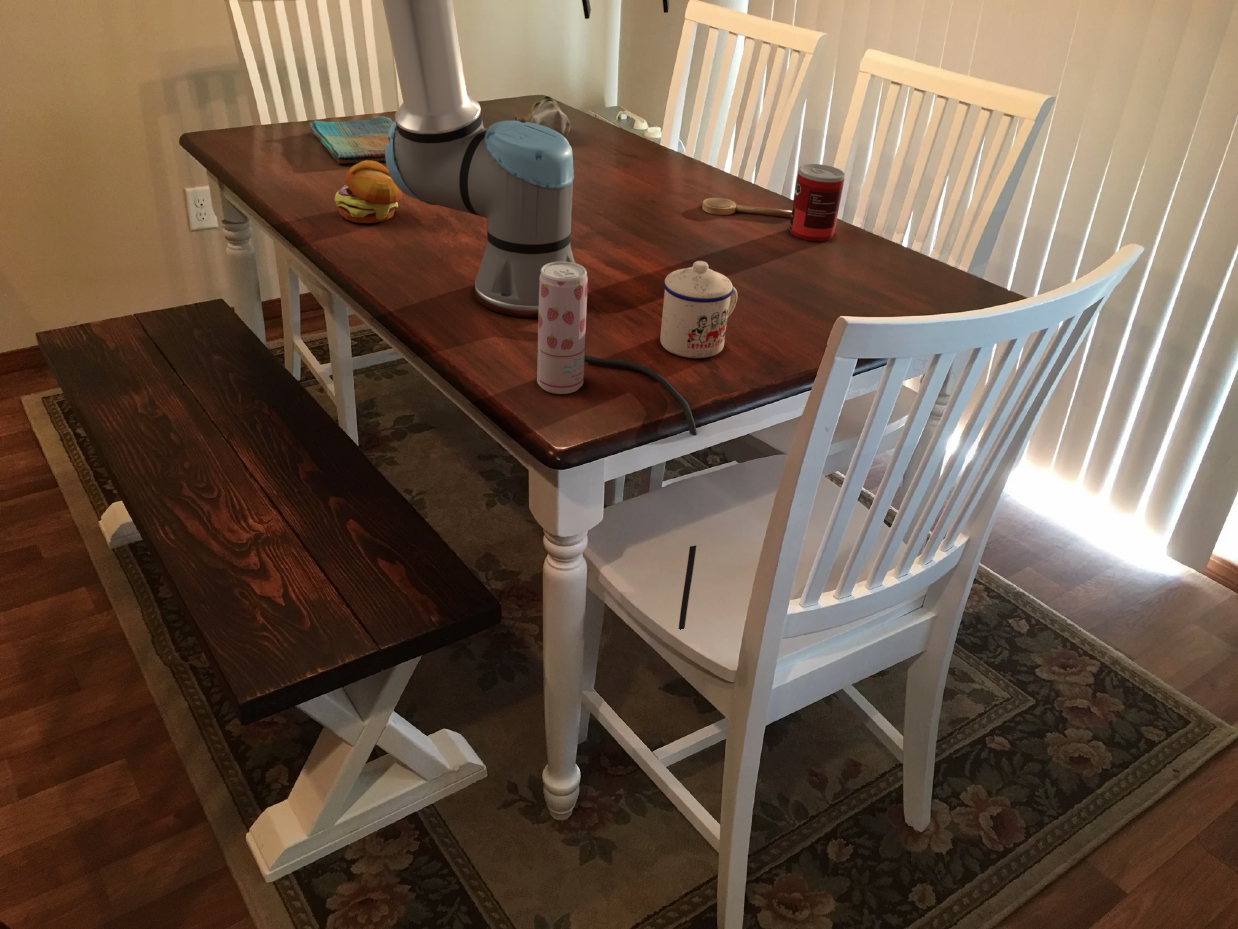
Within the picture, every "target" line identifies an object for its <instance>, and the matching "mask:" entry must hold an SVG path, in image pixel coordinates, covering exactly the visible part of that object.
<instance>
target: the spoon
mask: <svg viewBox="0 0 1238 929" xmlns="http://www.w3.org/2000/svg"><path fill="white" fill-rule="evenodd" d="M701 209H702V210H703V211H704V212H706V213H708V214H710V215H714V216H715V215H716V216H731V215H733V214H735V213H745V214H753V215H763V216H773V217H781V218H789V219H791V213H792V210H790V209H789V210H788V209H779V208H770V207H760V206H751V205H743V204H742V205H741V204H737V203H736V202H735V201H734V200H731V199H728V198H724V197H708V198H705V199H704V200H703V201H702V208H701Z"/></svg>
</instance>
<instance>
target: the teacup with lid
mask: <svg viewBox="0 0 1238 929" xmlns="http://www.w3.org/2000/svg"><path fill="white" fill-rule="evenodd" d="M663 288H664V293H663V294H664V295H663V305H662V316H661V324H660V325H661V326H660V335H659V336H660V337H659V341H660V344H661V346H662V348H664V349H665V350H666V351H668V353H671V354H673V355H676V356H679V357H682V358H688V359H707V358H712V357H714V356H716V355H718V354H719V353H721V352H722V351H723V349H724V346H725V341H726V333H727V325H728V318H729V317H730V316H731V314H732V313H733V312H734V311H735V310H734V309H735V308H736V305H737V303H738V295H739V294H738V291H737V289H736V288H735V286H733V283H732V281H731V280H730V279H729V277H727V276H725V275H724V274H722V273H721V272H718V271H714V270H713V269H711V268H709V264H708V262H706V261H703V260H697V261H695V262H693V264H692V266H690V267H687V268H680V269H676V270H674V271H673V270H672V271H671V272H670V273H668V274H667V276H666V277H665V279H664V281H663Z"/></svg>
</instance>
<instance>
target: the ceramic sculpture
mask: <svg viewBox="0 0 1238 929" xmlns="http://www.w3.org/2000/svg"><path fill="white" fill-rule="evenodd" d="M514 120H515V121H519V122H521V123H525V122H530V123H535V124H539V125H542V126H545V127H548V128H550V129H552V130H555V131H556V132H558V133H560V134H561V135H562V136H564V137H565V138H566V139H567V137H568V136H569V133H570V130H571V125H572V124H571V122H570V120H569V118H568V116H567V115H566V114H565V113H564V112H563V111H562V109H561V107H560V106H559V104H558V102H557V101H556V100H554V99H553V98H552V97H551V96H549V95H547V96H545V97H544V98H543V99H542V100H537V101H535V102H534V103H533V104H532V105H531V107H530V109H529V112H528V115H527V116H524V117H517V116H516V117H514Z"/></svg>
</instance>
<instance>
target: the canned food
mask: <svg viewBox="0 0 1238 929" xmlns="http://www.w3.org/2000/svg"><path fill="white" fill-rule="evenodd" d="M845 176H846V174H845V172H844V171H843V170H841V169H840V168H837V167H834V166H831V165H827V164H821V163H820V164H819V163H809V164H808V163H807V164H803V165H801V166H799V167H798V170H797V176H796V180H795V181H796V182H795V189H794V195H793V201H792V208H791V211H792V213H791V218H789V219H790V220H789V232H790V234H791V235H792V236H794V237H796V238H797V239H800V240H803V241H807V242H826V241H829V240H831V239H832V238H833V236H834V234H835V232H836V231H835V230H836V225H837V220H838V215H839V209H840V204H841V200H842V195H843V188H844V183H845Z"/></svg>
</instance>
